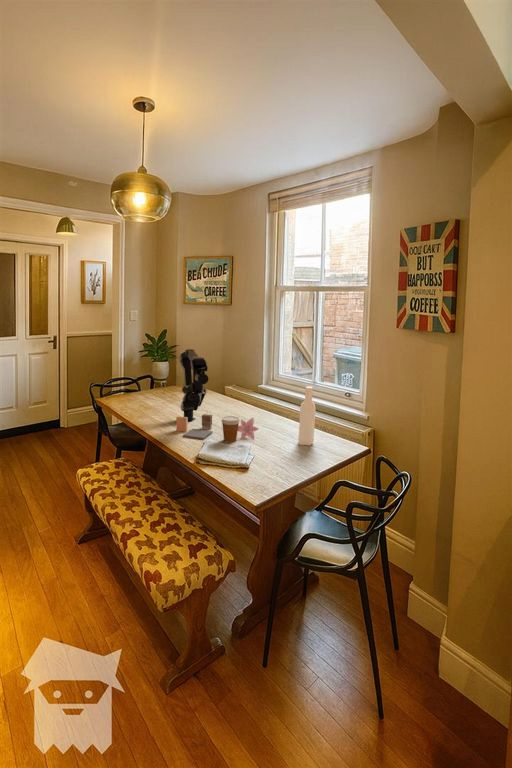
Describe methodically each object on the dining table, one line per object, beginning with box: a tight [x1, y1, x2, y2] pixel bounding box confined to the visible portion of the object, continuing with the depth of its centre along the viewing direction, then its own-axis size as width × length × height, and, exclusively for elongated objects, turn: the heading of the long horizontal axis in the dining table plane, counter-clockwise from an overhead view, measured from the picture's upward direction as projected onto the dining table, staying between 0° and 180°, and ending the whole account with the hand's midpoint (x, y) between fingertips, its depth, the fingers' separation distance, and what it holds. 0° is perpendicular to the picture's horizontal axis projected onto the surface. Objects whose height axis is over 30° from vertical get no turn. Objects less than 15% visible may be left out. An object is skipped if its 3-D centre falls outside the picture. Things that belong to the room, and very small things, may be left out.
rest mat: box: [182, 428, 214, 440], centre depth 227 cm, size 12×12×1 cm
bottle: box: [297, 386, 317, 446], centre depth 218 cm, size 8×8×30 cm
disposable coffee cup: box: [221, 415, 241, 443], centre depth 219 cm, size 10×10×12 cm
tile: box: [175, 415, 189, 433], centre depth 232 cm, size 2×6×8 cm, turn 74°
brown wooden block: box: [201, 413, 213, 431], centre depth 238 cm, size 3×5×8 cm, turn 74°
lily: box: [238, 417, 259, 440], centre depth 227 cm, size 12×12×10 cm
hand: (197, 408), depth 234 cm, fingers open, 9 cm apart
